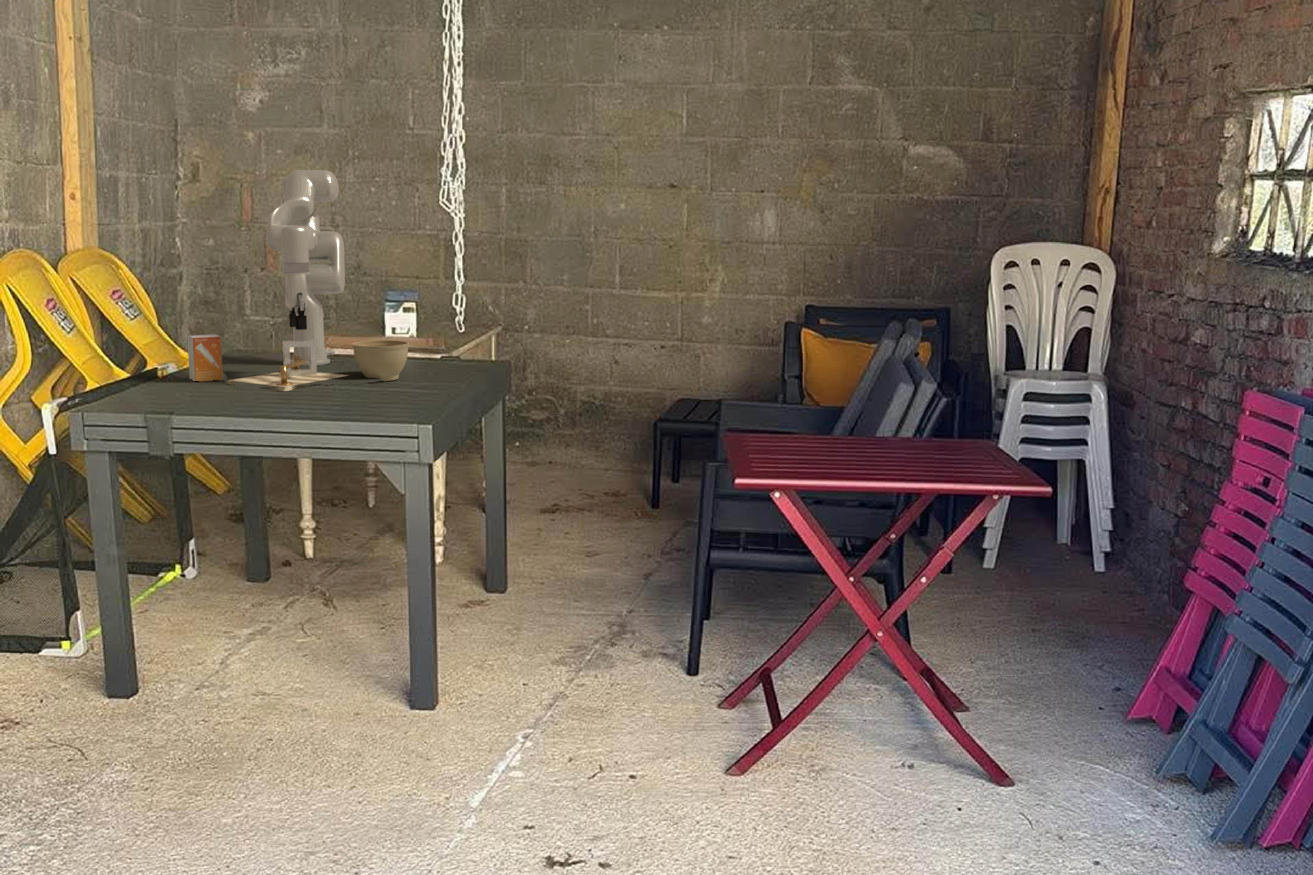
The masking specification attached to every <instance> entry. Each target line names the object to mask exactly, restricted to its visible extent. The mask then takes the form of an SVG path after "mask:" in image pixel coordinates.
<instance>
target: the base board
mask: <svg viewBox="0 0 1313 875" xmlns="http://www.w3.org/2000/svg"><path fill="white" fill-rule="evenodd" d="M347 376H348V377H349V376H350V374H339V373H332V372H331V373H330V372H322V371H321V372H320V371H317V375H302V376H287V382H292V385H288V386H278V385H276V383H279V382H281V371H279V372H278V371H277V372H271V373H265V374H259V375H253V376H247V377H241V378H235V379H234V378H233V379H228V380H227V385H228V384H232V385H231V386H235V385H236V384H235V383H234V382H236V383H237V382H238V383H245V384H246V383H247V384H253V385H254V384H255V385H262V386H263V385H264V387H261V386H260V389H261V388H262V390H272V391H280V392H286V391H287V392H288V391H294V390H299V389H303V388H308V387H315V386H320V385H321V386H322V383H321V384H319V383H318V384H317V383H316V382H321V381H326V380H332V379H337V378H342V377H347ZM310 383H316V384H310Z"/></svg>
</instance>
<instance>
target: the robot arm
mask: <svg viewBox="0 0 1313 875" xmlns="http://www.w3.org/2000/svg"><path fill="white" fill-rule="evenodd" d="M339 188H340V187H339V182H338V179H337V177H336V175H335V174H334V172H332V171H330V170H326V169H296V170H294V171H291V172H290V173H289V174H288V175H286V176H284V177H283V178H282V180H281V191H282V197H283V199H284V202H282V203H281V204H279V205H278V206H277V207H276V208H275V209H274V210H273V211H271V213H270V215H269V217H268V218H267V219H268V220H267V225H266V235H265V237H266V244H267V246H268V247H269V249H271V250H272V251H276V252H278V251H279V252H281V268H282V269H281V271H282V275H285V278H284V279H285V281H284V286H285V287H284V288H285V289H284V297H285V298H284V300H285V302H284V305H285V307H286V308H288V310H289V314H288V317H289V327H290V328H292V335H293V336H292V339H293V340H292V341H297V340H315V341H316V362H317V366H321V365H322V366H323V365H327V364H330V362H331V359H330V358H328V357H329V356H333V355H335V353H336V351H335V349H334V348H329V349H328V348H327V347H325V330H324V329H325V328H324V309H323V306H322V303H320V302H319V300H318V299H317V298H316V296H315V295H336V294H337V295H338V294H341V293H342V292H343V291H344V289H345V285H346V274H345V272H346V269H345V267H346V266H345V265H346V264H345V244H344V239H343V237H342V235H341V234H340V233H339V232H337V231H333V230H330V231H328V230H327V231H325V230H321V229H320V216H319V214H318V213H317V212H316V211H315V209H314V208H315V202H334V201H336V200H337V198H338V196H339V191H340V189H339ZM310 262H328V263H310ZM293 354H299V356H301V357H302V358H304V359H305V360H306V364H302V365H301V366H310V361H309V346H305V347H293ZM290 363H293V358H290Z"/></svg>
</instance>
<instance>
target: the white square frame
mask: <svg viewBox="0 0 1313 875" xmlns="http://www.w3.org/2000/svg"><path fill="white" fill-rule="evenodd" d="M281 342H282V359H283V361H282V363H283V365H286V364H290V360H291V348H294V347H305V346H309V361H310V365H309V368H299V369H294V368H288V369H287V376H302V375H317V372H318V367H317V366H318V365H317V362H316V341H315V340H297V341H293V340H282V341H281Z"/></svg>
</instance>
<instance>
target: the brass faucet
mask: <svg viewBox="0 0 1313 875" xmlns="http://www.w3.org/2000/svg"><path fill="white" fill-rule="evenodd" d="M292 359H293V363H290V364H286V365H284V364H283V365H280V366H279V367H280V372H281V382H279V383H276V385H278V386H277V387H279V386H288V385H292V382H287V369H288V368H291V369H300V366H302V364H306V360H305V359H304V358H302V357H301V356H299V354H294V353H293V354H292Z"/></svg>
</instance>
